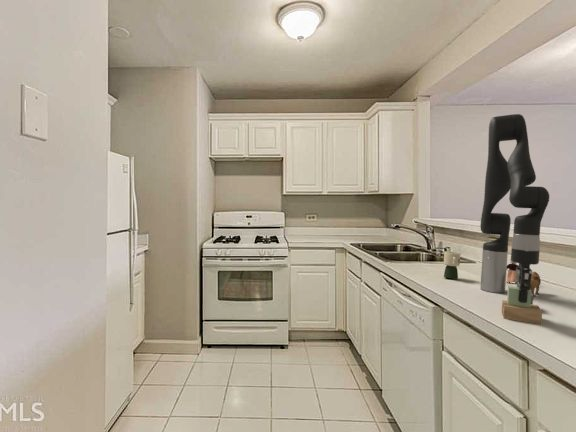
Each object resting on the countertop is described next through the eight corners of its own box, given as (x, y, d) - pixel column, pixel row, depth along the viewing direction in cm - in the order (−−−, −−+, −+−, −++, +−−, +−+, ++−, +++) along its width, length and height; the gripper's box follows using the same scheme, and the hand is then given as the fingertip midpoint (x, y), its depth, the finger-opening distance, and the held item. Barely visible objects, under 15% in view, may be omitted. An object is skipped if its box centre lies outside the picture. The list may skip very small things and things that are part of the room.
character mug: (461, 281, 165) (463, 254, 165) (445, 280, 167) (447, 253, 166) (455, 276, 176) (457, 251, 176) (440, 275, 178) (441, 250, 177)
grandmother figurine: (504, 283, 166) (506, 256, 165) (502, 281, 169) (503, 255, 169) (523, 284, 164) (525, 258, 163) (519, 283, 168) (521, 256, 167)
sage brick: (508, 304, 114) (509, 288, 114) (507, 302, 117) (507, 286, 117) (530, 307, 111) (531, 290, 111) (528, 305, 114) (529, 288, 114)
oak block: (501, 311, 120) (502, 300, 120) (536, 317, 115) (537, 305, 115) (503, 318, 113) (504, 306, 112) (541, 324, 108) (542, 311, 108)
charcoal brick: (518, 305, 129) (519, 290, 129) (529, 306, 128) (530, 291, 127) (520, 309, 124) (521, 293, 124) (532, 310, 122) (533, 295, 122)
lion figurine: (525, 290, 153) (527, 270, 153) (540, 292, 150) (542, 271, 149) (521, 296, 142) (522, 274, 141) (537, 299, 138) (539, 276, 138)
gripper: (509, 245, 121) (506, 294, 122) (514, 249, 108) (510, 304, 109) (535, 247, 117) (532, 297, 118) (543, 251, 105) (539, 308, 106)
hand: (521, 300), depth 114 cm, fingers open, 3 cm apart
